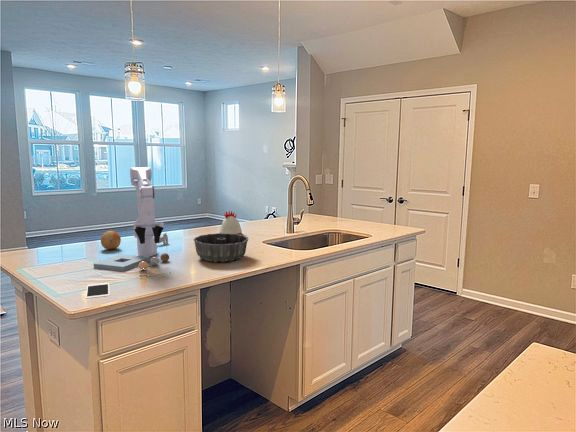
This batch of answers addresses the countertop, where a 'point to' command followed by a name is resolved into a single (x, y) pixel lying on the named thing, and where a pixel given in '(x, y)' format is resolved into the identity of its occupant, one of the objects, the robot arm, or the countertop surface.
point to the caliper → (164, 239)
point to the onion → (110, 240)
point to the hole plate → (121, 262)
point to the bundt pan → (221, 246)
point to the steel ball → (154, 261)
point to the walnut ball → (164, 257)
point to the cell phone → (97, 290)
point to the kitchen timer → (230, 225)
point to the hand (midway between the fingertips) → (149, 243)
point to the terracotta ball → (143, 265)
